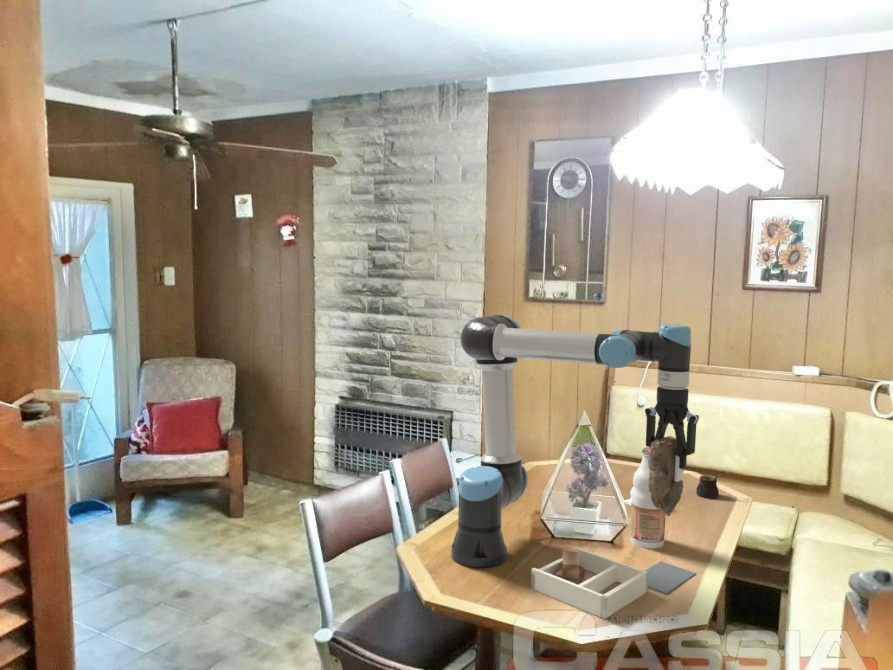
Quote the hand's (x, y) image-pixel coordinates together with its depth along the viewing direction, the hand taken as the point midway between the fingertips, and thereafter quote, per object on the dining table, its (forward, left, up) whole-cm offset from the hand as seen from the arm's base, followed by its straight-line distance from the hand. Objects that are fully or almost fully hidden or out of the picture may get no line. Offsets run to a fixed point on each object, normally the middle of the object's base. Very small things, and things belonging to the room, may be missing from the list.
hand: (668, 477), depth 178 cm
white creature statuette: (-31, +41, -27) cm, 58 cm away
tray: (-10, -20, -26) cm, 34 cm away
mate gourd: (-19, +67, -27) cm, 75 cm away
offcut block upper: (-15, -20, -23) cm, 34 cm away
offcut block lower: (-15, -20, -27) cm, 37 cm away
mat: (0, 0, -26) cm, 26 cm away
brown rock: (0, 0, -10) cm, 10 cm away
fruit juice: (-14, +17, -27) cm, 35 cm away
